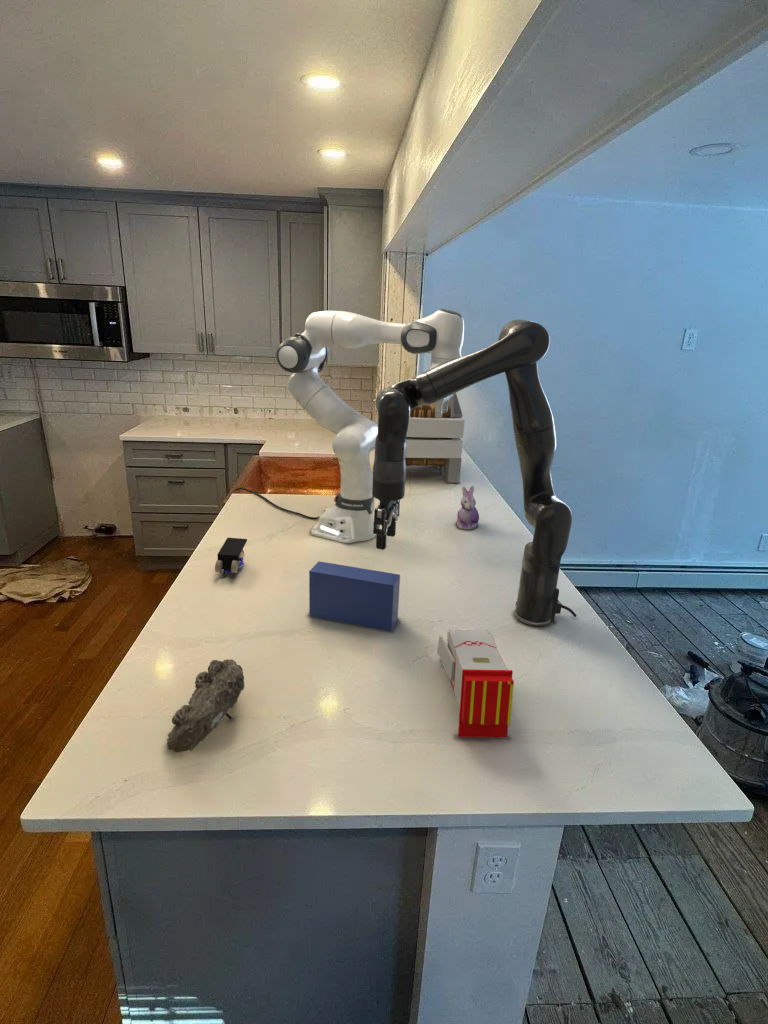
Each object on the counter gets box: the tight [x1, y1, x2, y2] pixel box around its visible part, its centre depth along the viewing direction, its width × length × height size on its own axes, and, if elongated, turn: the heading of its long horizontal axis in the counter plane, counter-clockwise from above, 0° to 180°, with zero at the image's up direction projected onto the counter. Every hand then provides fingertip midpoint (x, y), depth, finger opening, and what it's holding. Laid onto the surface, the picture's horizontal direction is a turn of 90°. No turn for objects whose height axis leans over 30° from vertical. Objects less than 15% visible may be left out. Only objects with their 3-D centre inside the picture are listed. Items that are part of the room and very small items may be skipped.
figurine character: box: [214, 537, 248, 578], centre depth 166 cm, size 7×8×15 cm
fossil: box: [166, 658, 245, 754], centre depth 106 cm, size 22×10×15 cm
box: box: [308, 560, 401, 632], centre depth 143 cm, size 22×6×13 cm, turn 74°
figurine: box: [456, 485, 480, 530], centre depth 208 cm, size 9×10×15 cm
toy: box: [437, 628, 515, 738], centre depth 117 cm, size 12×13×30 cm
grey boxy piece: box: [405, 392, 465, 484], centre depth 268 cm, size 34×33×41 cm
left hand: (441, 414), depth 172 cm, fingers open, 8 cm apart
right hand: (385, 542), depth 136 cm, fingers open, 8 cm apart
